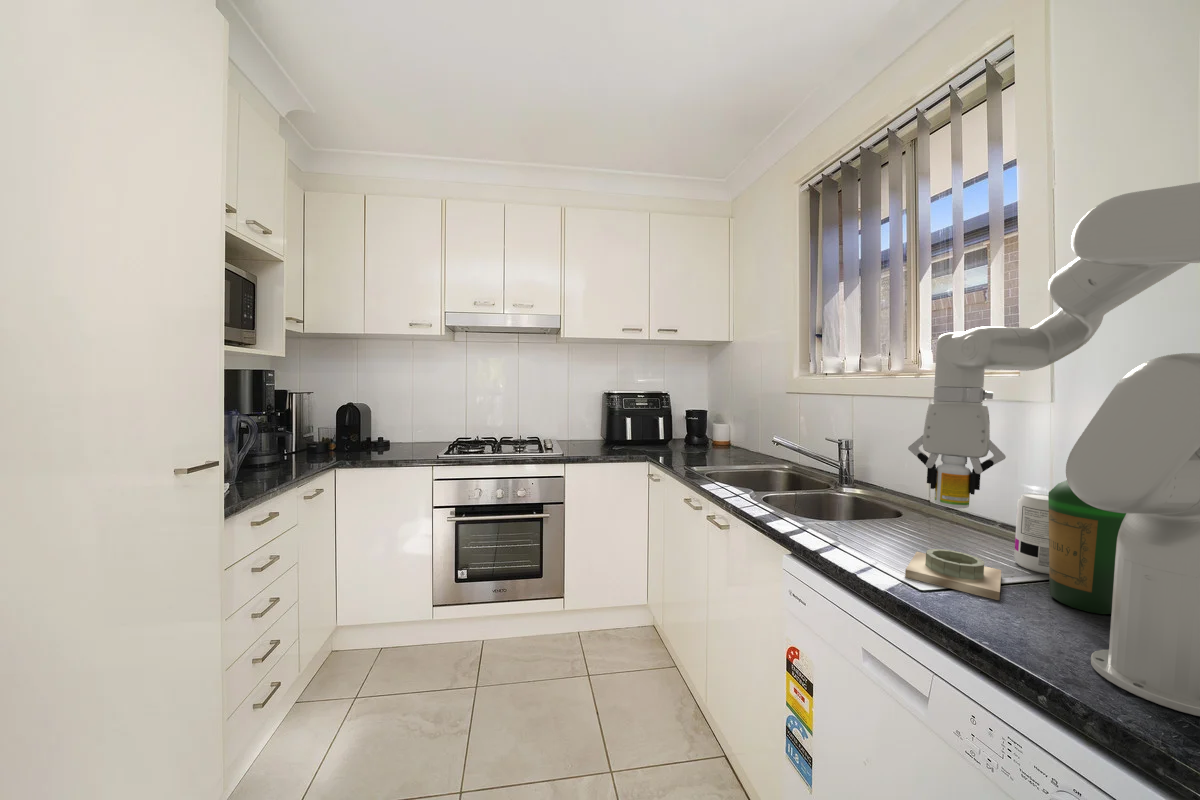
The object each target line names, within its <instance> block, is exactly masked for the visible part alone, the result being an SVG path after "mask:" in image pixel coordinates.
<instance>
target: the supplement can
mask: <svg viewBox="0 0 1200 800" xmlns="http://www.w3.org/2000/svg"><path fill="white" fill-rule="evenodd" d="M1016 507H1017V508H1016V520H1015V521H1016V522H1015V523H1016V524H1015V540H1014V551H1013V553H1014V555H1013V560H1014V561H1015V563H1017V565H1018V566H1020V567H1022V568H1023V569H1024V568H1025V569H1027V570H1029V571H1033V572H1037V573H1042V574H1047V575H1049V503H1048V494H1042V493H1031V492H1028V493H1026V492H1025V493H1022V494H1021V496H1020V497H1019V498H1018V499H1017V506H1016Z"/></svg>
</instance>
